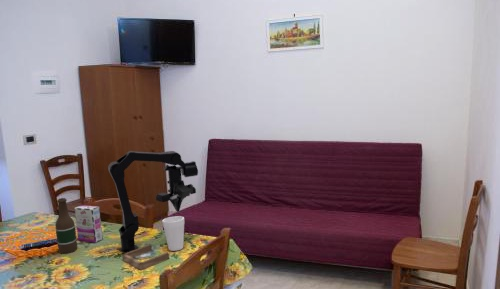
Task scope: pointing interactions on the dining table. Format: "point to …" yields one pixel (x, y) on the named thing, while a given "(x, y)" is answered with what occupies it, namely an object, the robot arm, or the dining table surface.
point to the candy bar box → (88, 223)
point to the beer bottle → (65, 229)
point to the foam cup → (174, 232)
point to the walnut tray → (142, 265)
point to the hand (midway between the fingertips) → (177, 211)
